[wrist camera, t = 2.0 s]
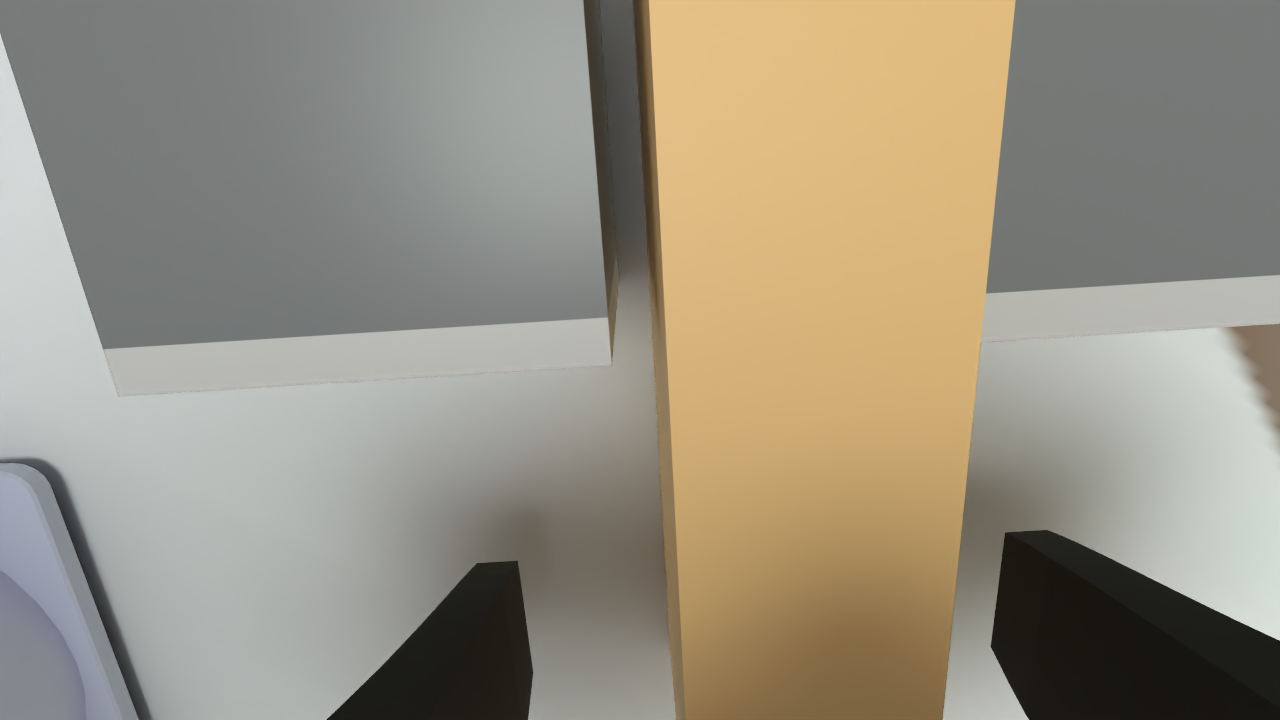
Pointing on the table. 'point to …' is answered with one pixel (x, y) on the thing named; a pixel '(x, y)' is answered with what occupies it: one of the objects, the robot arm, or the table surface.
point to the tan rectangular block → (816, 338)
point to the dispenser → (574, 180)
